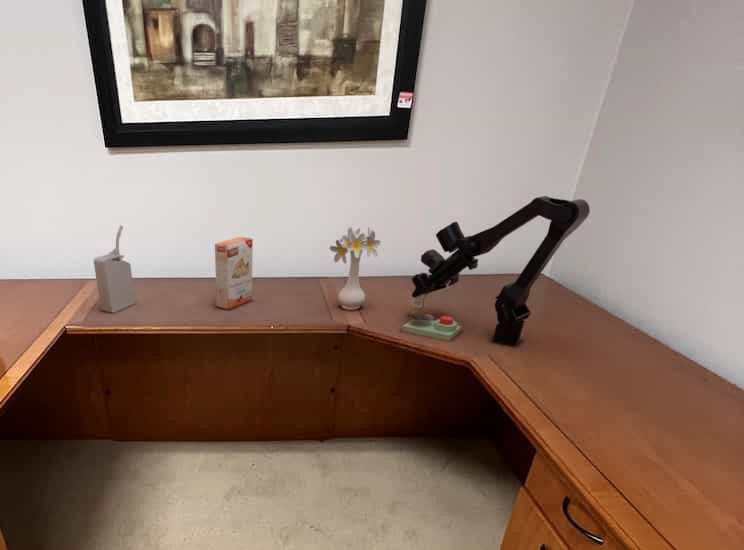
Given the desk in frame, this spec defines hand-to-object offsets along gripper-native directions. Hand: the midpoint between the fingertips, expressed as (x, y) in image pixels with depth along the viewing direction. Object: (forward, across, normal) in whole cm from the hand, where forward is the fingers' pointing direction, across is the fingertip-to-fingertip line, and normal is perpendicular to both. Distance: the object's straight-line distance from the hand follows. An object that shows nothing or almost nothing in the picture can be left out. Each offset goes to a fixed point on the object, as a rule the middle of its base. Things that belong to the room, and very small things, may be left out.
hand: (416, 294), depth 182 cm
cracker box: (+40, +37, -30) cm, 62 cm away
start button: (-10, +8, +15) cm, 19 cm away
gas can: (+58, +68, -48) cm, 102 cm away
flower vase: (+18, +10, -9) cm, 22 cm away
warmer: (-5, +9, +14) cm, 17 cm away
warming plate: (-5, +10, +9) cm, 14 cm away
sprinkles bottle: (+4, 0, +6) cm, 7 cm away
